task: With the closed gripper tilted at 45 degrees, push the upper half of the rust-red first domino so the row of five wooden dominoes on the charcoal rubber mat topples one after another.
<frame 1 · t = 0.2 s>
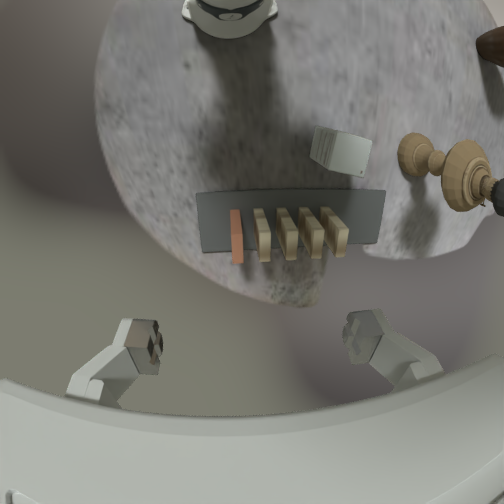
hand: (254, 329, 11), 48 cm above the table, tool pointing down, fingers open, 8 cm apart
domino 5: (323, 218, 61), point 1 cm above the table, touching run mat
oil lamp: (414, 153, 55), on the table
domino 3: (280, 220, 60), point 1 cm above the table, touching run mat
domino 1: (235, 222, 60), point 1 cm above the table, touching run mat
domino 4: (302, 219, 61), point 1 cm above the table, touching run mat
domino 2: (258, 221, 60), point 1 cm above the table, touching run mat
plant pot: (482, 48, 37), on the table
supplement box: (326, 144, 53), on the table
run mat: (297, 218, 61), on the table
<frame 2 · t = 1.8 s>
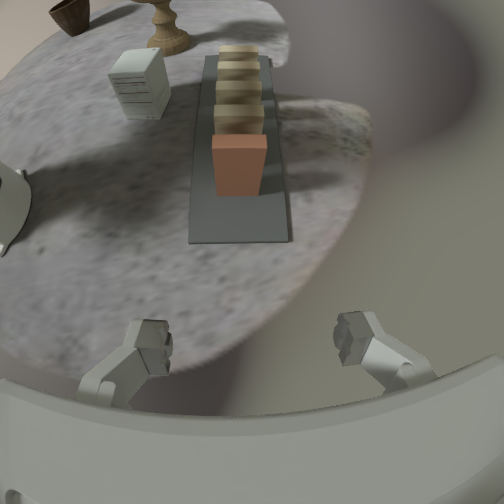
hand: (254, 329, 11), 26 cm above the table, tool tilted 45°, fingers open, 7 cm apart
domino 5: (236, 98, 45), point 1 cm above the table, touching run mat
oil lamp: (169, 46, 51), on the table
domino 3: (237, 137, 42), point 1 cm above the table, touching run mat
domino 1: (237, 190, 40), point 1 cm above the table, touching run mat
domino 4: (236, 116, 44), point 1 cm above the table, touching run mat
domino 2: (237, 162, 41), point 1 cm above the table, touching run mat
plant pot: (79, 31, 55), on the table
supplement box: (149, 107, 45), on the table
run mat: (236, 123, 44), on the table
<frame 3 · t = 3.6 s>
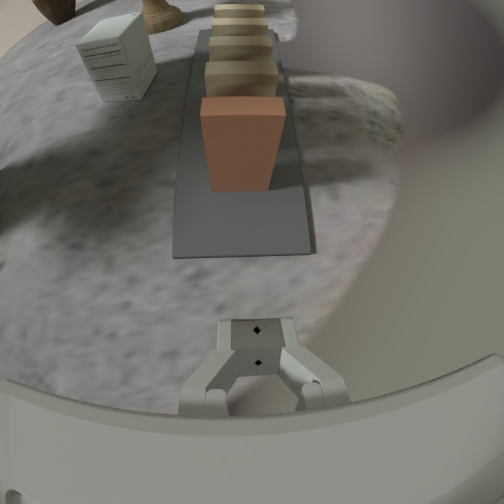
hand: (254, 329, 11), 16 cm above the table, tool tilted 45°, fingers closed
domino 5: (237, 72, 34), point 1 cm above the table, touching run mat
oil lamp: (158, 24, 40), on the table
domino 3: (237, 116, 32), point 1 cm above the table, touching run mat
domino 1: (239, 183, 29), point 1 cm above the table, touching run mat
domino 4: (237, 92, 33), point 1 cm above the table, touching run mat
domino 2: (238, 146, 30), point 1 cm above the table, touching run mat
plant pot: (64, 20, 45), on the table
supplement box: (130, 87, 34), on the table
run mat: (237, 100, 33), on the table
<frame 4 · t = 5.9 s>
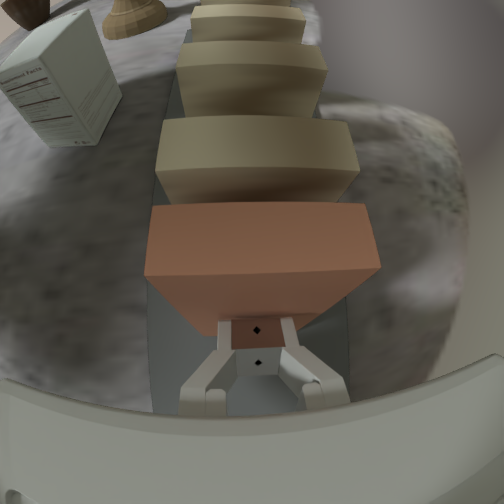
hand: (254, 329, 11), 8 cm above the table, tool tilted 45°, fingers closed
domino 5: (240, 96, 23), point 1 cm above the table, touching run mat
oil lamp: (135, 24, 29), on the table
domino 3: (243, 184, 20), point 1 cm above the table, touching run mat
domino 1: (248, 320, 18), point 1 cm above the table, tilted 10°, touching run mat
domino 4: (241, 134, 22), point 1 cm above the table, touching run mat
domino 2: (245, 248, 19), point 1 cm above the table, touching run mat
plant pot: (38, 24, 34), on the table
supplement box: (85, 122, 23), on the table
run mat: (241, 149, 22), on the table
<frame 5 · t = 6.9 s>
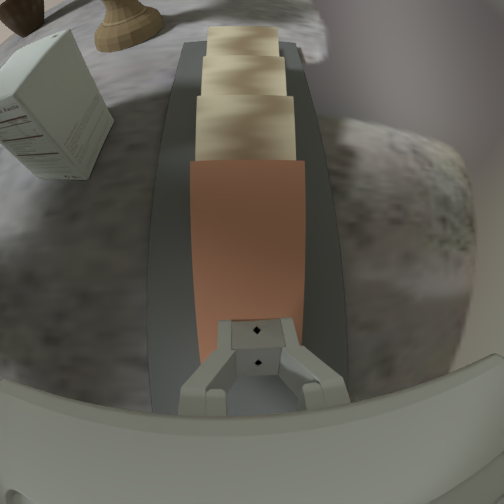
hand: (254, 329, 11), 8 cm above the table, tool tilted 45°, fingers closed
oil lamp: (129, 34, 28), on the table
domino 3: (244, 212, 19), point 2 cm above the table, tilted 66°, touching domino 2, domino 4, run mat
domino 1: (250, 361, 16), point 2 cm above the table, tilted 66°, touching domino 2, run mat
domino 4: (242, 150, 20), point 2 cm above the table, tilted 66°, touching domino 3, domino 5
domino 2: (247, 283, 18), point 2 cm above the table, tilted 66°, touching domino 1, domino 3
plant pot: (32, 30, 33), on the table
supplement box: (75, 151, 22), on the table
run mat: (243, 190, 21), on the table
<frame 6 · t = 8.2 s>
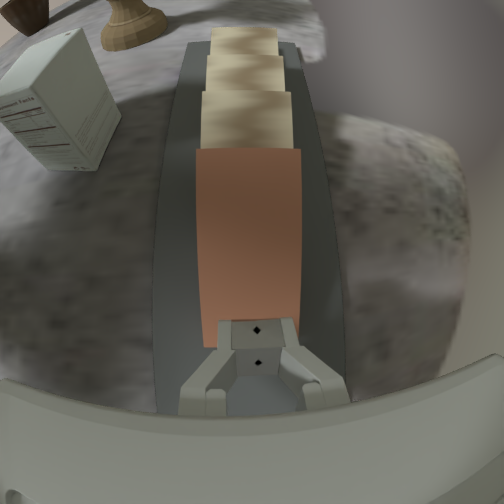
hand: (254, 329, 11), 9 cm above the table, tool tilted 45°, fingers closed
oil lamp: (134, 34, 29), on the table
domino 3: (245, 199, 20), point 2 cm above the table, tilted 66°, touching domino 2, domino 4, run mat
domino 1: (250, 339, 18), point 2 cm above the table, tilted 66°, touching domino 2, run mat
domino 4: (244, 142, 21), point 2 cm above the table, tilted 66°, touching domino 3, domino 5
domino 2: (247, 264, 19), point 2 cm above the table, tilted 66°, touching domino 1, domino 3
plant pot: (37, 29, 34), on the table
supplement box: (84, 144, 23), on the table
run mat: (244, 180, 22), on the table
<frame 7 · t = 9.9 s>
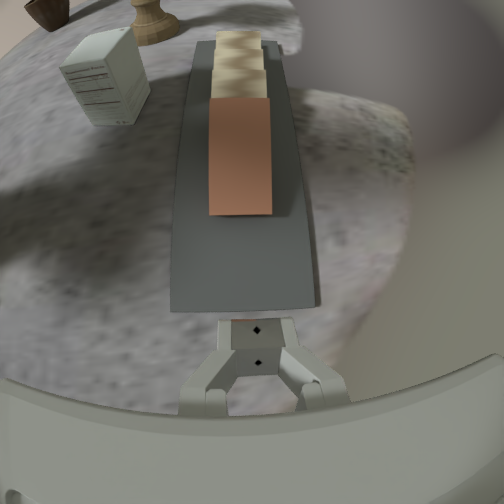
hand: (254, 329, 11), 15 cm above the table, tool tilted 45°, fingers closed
oil lamp: (153, 33, 38), on the table
domino 3: (238, 135, 29), point 2 cm above the table, tilted 66°, touching domino 2, domino 4, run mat
domino 1: (240, 214, 27), point 2 cm above the table, tilted 66°, touching domino 2, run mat
domino 4: (238, 104, 31), point 2 cm above the table, tilted 66°, touching domino 3, domino 5
domino 2: (239, 170, 28), point 2 cm above the table, tilted 66°, touching domino 1, domino 3
plant pot: (58, 26, 43), on the table
supplement box: (122, 109, 32), on the table
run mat: (238, 128, 32), on the table
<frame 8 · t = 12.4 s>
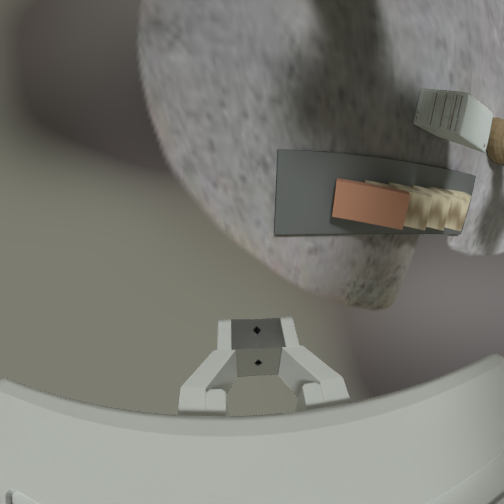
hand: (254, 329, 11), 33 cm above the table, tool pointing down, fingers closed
domino 5: (428, 203, 43), point 2 cm above the table, tilted 90°, touching domino 4, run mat
oil lamp: (496, 140, 37), on the table
domino 3: (386, 199, 42), point 2 cm above the table, tilted 66°, touching domino 2, domino 4, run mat
domino 1: (334, 197, 42), point 2 cm above the table, tilted 66°, touching domino 2, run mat
domino 4: (409, 201, 42), point 2 cm above the table, tilted 66°, touching domino 3, domino 5
domino 2: (362, 198, 42), point 2 cm above the table, tilted 66°, touching domino 1, domino 3
supplement box: (429, 113, 36), on the table
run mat: (393, 197, 44), on the table
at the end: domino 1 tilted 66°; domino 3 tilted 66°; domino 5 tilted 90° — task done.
